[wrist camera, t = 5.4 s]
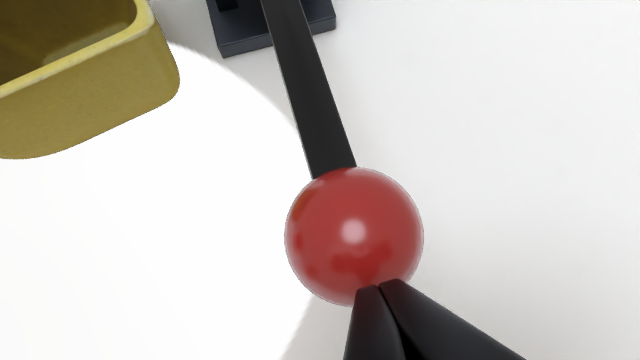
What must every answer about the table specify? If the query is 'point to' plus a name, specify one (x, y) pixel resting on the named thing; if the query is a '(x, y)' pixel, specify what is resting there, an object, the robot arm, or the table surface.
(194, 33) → the table surface
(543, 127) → the table surface
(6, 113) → the flower pot
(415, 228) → the lever
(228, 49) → the bracket
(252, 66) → the table surface
